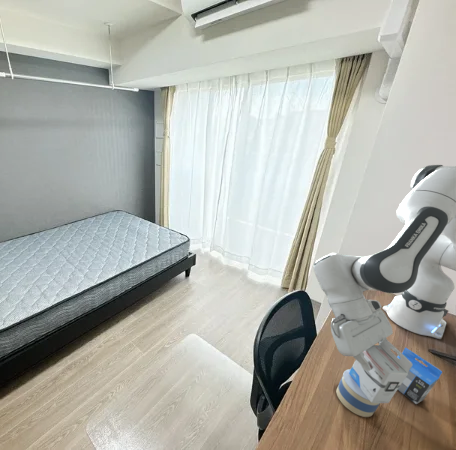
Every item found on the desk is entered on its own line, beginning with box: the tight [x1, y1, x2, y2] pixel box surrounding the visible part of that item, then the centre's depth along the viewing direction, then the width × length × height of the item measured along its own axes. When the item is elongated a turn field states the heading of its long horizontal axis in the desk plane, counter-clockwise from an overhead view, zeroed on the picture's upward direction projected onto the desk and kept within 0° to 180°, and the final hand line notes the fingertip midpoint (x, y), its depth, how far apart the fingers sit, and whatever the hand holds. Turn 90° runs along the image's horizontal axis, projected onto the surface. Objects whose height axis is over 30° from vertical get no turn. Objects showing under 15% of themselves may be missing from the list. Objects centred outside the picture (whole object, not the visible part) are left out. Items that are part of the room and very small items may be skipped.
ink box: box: [349, 338, 413, 404], centre depth 65 cm, size 9×5×15 cm, turn 0°
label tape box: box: [396, 346, 443, 405], centre depth 73 cm, size 9×4×12 cm, turn 20°
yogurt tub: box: [335, 368, 381, 418], centre depth 70 cm, size 9×9×7 cm
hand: (378, 363), depth 65 cm, fingers open, 8 cm apart
